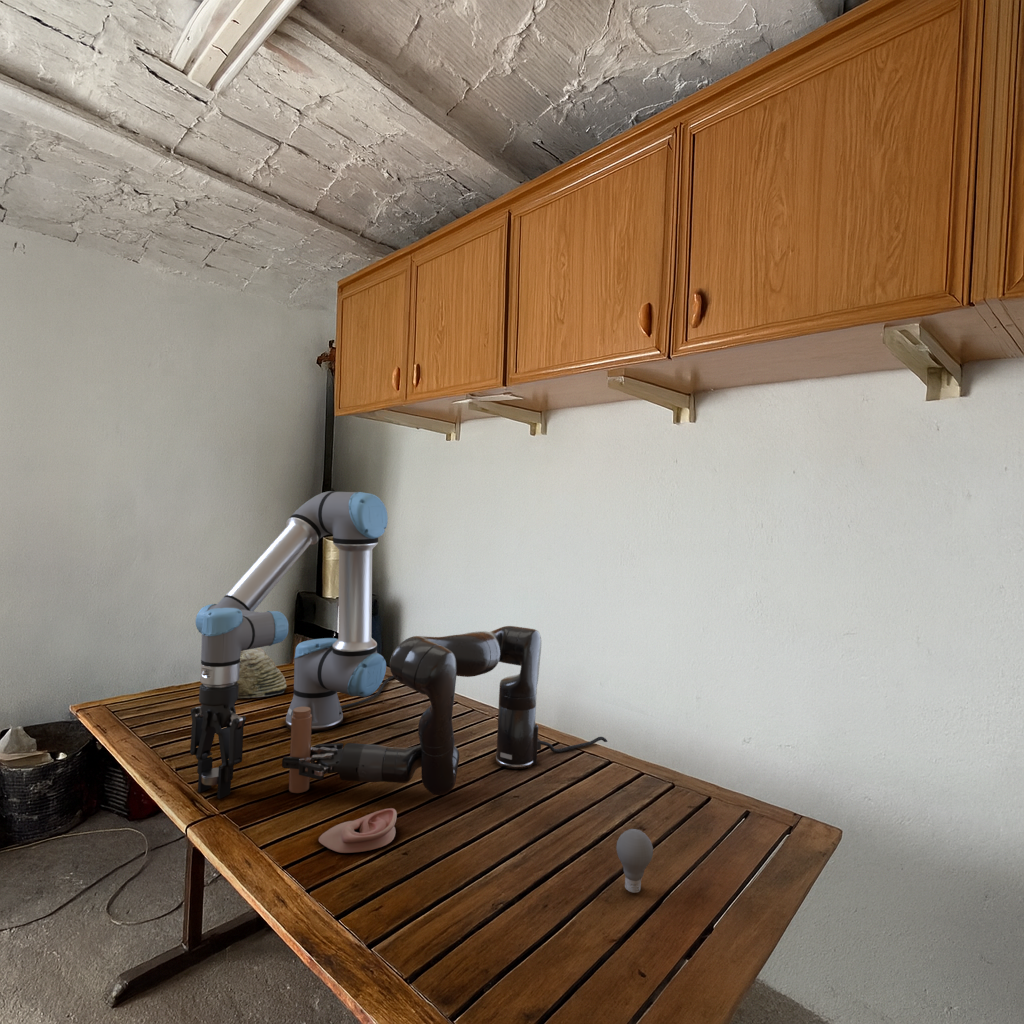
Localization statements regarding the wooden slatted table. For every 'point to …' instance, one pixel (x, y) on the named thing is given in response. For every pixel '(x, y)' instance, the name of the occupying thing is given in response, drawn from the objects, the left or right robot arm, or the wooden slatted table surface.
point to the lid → (210, 776)
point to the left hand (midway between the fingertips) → (214, 792)
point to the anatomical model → (362, 833)
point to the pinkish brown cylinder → (300, 746)
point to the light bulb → (634, 857)
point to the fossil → (259, 675)
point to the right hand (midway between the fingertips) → (287, 757)
